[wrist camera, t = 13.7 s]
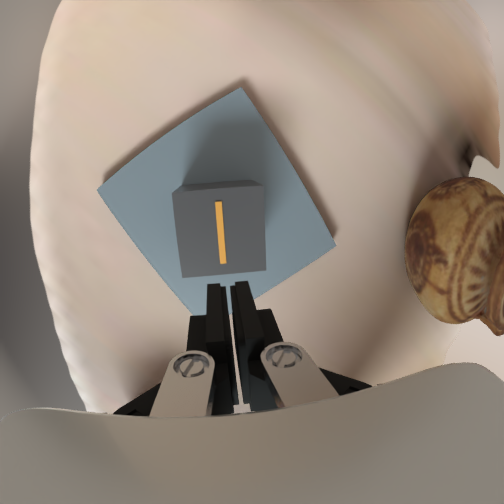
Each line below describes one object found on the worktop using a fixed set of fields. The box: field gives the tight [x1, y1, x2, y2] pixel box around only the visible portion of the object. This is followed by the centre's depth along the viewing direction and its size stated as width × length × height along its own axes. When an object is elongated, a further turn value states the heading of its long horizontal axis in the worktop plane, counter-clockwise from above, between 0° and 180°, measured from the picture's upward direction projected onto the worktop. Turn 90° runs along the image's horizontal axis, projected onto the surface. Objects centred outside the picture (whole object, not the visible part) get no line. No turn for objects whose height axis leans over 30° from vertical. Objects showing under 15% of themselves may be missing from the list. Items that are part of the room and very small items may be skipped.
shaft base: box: [97, 87, 336, 316], centre depth 26 cm, size 20×18×6 cm
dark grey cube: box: [172, 180, 266, 278], centre depth 24 cm, size 7×7×7 cm
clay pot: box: [405, 177, 504, 336], centre depth 26 cm, size 19×19×20 cm
